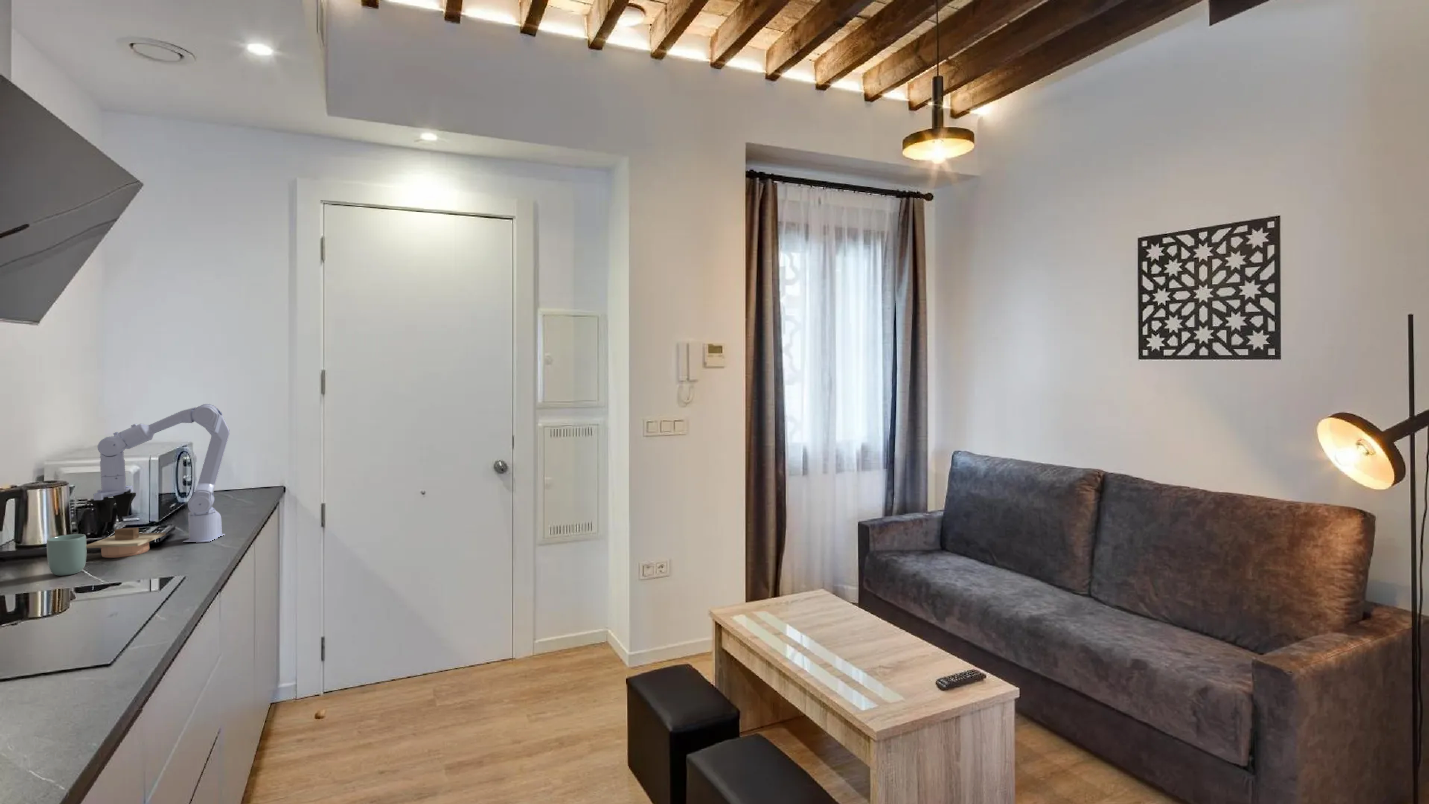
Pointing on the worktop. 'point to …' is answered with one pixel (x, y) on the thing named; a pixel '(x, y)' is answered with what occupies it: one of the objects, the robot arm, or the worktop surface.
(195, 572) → the worktop surface
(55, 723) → the worktop surface
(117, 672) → the worktop surface
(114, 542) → the lid
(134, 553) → the dish
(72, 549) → the cup
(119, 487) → the robot arm
